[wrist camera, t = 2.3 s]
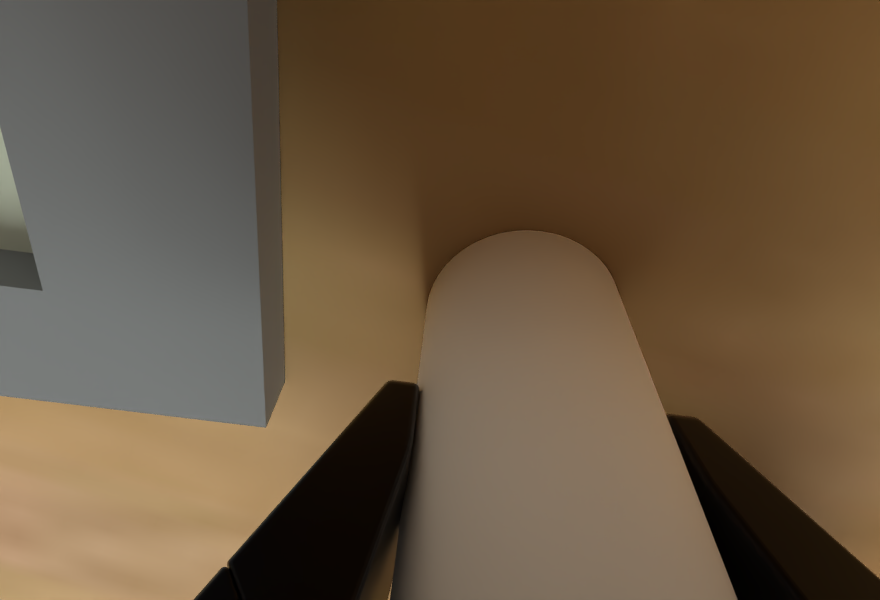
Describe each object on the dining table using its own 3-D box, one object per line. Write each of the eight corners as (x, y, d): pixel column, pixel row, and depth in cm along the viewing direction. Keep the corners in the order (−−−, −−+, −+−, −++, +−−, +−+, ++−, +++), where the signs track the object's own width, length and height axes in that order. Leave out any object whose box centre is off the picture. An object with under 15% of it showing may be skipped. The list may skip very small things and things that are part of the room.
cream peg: (592, 401, 11) (817, 1311, 4) (417, 379, 11) (306, 1264, 4) (643, 244, 10) (1212, 1327, 2) (437, 217, 9) (309, 1242, 2)
